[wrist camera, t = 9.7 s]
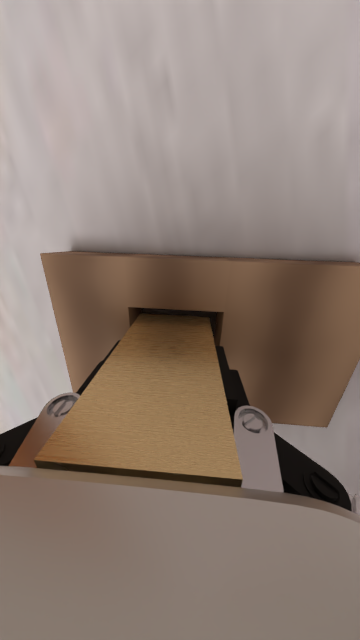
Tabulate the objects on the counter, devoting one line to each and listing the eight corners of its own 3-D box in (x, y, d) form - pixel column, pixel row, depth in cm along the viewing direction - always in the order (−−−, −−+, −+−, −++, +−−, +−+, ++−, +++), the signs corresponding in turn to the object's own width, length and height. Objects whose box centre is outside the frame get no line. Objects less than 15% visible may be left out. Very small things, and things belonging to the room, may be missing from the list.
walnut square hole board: (357, 262, 13) (402, 268, 10) (305, 397, 17) (327, 427, 15) (71, 251, 14) (40, 253, 11) (94, 382, 18) (76, 406, 16)
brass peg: (208, 317, 12) (242, 479, 4) (203, 373, 14) (218, 567, 6) (140, 313, 12) (33, 459, 4) (143, 369, 14) (73, 550, 6)
